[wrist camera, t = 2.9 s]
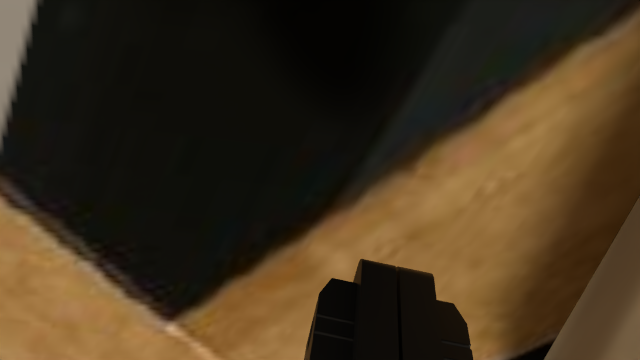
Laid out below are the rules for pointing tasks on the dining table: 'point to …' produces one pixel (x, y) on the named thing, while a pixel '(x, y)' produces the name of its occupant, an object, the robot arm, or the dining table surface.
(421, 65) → the dining table surface
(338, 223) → the dining table surface
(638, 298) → the T block
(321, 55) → the dining table surface
